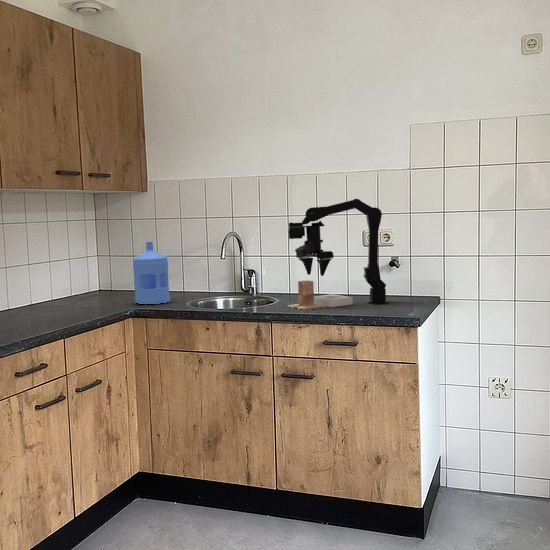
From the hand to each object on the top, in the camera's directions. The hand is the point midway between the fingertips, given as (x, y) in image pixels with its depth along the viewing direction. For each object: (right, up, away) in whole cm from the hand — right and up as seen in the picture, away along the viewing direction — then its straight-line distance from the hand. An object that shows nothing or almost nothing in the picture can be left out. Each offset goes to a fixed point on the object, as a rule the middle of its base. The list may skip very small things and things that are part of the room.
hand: (315, 275), depth 276 cm
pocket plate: (+7, -12, +3) cm, 14 cm away
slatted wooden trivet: (-4, -13, -4) cm, 14 cm away
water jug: (-73, -13, +28) cm, 79 cm away
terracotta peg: (-4, -12, -4) cm, 14 cm away
